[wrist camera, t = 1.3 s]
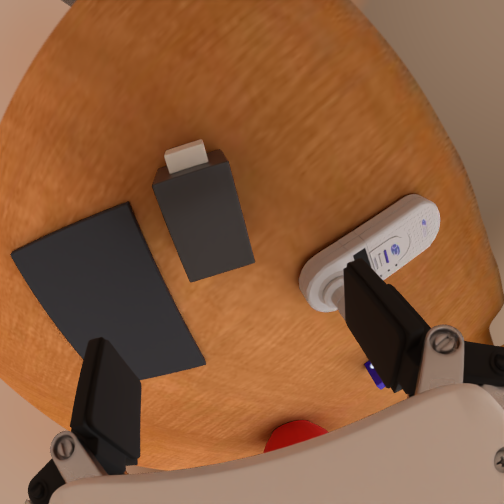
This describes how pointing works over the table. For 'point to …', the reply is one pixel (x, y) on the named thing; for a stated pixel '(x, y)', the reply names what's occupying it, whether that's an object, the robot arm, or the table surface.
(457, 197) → the table surface
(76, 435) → the robot arm
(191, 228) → the block
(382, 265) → the electronic device
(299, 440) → the ceramic cup
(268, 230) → the table surface
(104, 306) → the desk mat
